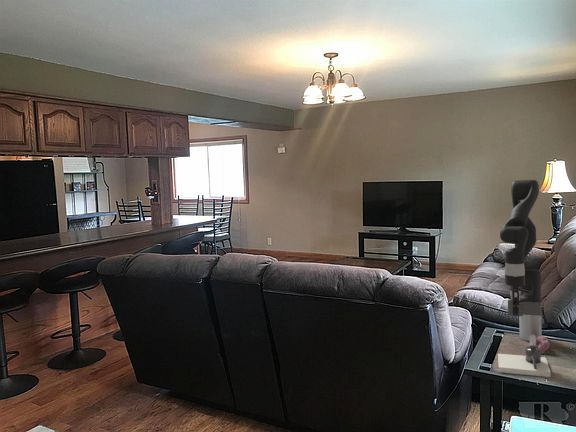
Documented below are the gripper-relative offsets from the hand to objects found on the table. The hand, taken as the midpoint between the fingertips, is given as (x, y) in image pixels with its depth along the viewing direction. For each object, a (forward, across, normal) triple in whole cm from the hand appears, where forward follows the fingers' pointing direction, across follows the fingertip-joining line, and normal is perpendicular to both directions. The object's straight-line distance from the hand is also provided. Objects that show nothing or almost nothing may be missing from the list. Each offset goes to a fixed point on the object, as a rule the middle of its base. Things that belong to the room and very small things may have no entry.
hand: (515, 312), depth 194 cm
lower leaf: (+18, +9, +6) cm, 21 cm away
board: (+20, +8, +2) cm, 22 cm away
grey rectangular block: (+1, 0, +3) cm, 3 cm away
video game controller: (+20, -14, +10) cm, 26 cm away
